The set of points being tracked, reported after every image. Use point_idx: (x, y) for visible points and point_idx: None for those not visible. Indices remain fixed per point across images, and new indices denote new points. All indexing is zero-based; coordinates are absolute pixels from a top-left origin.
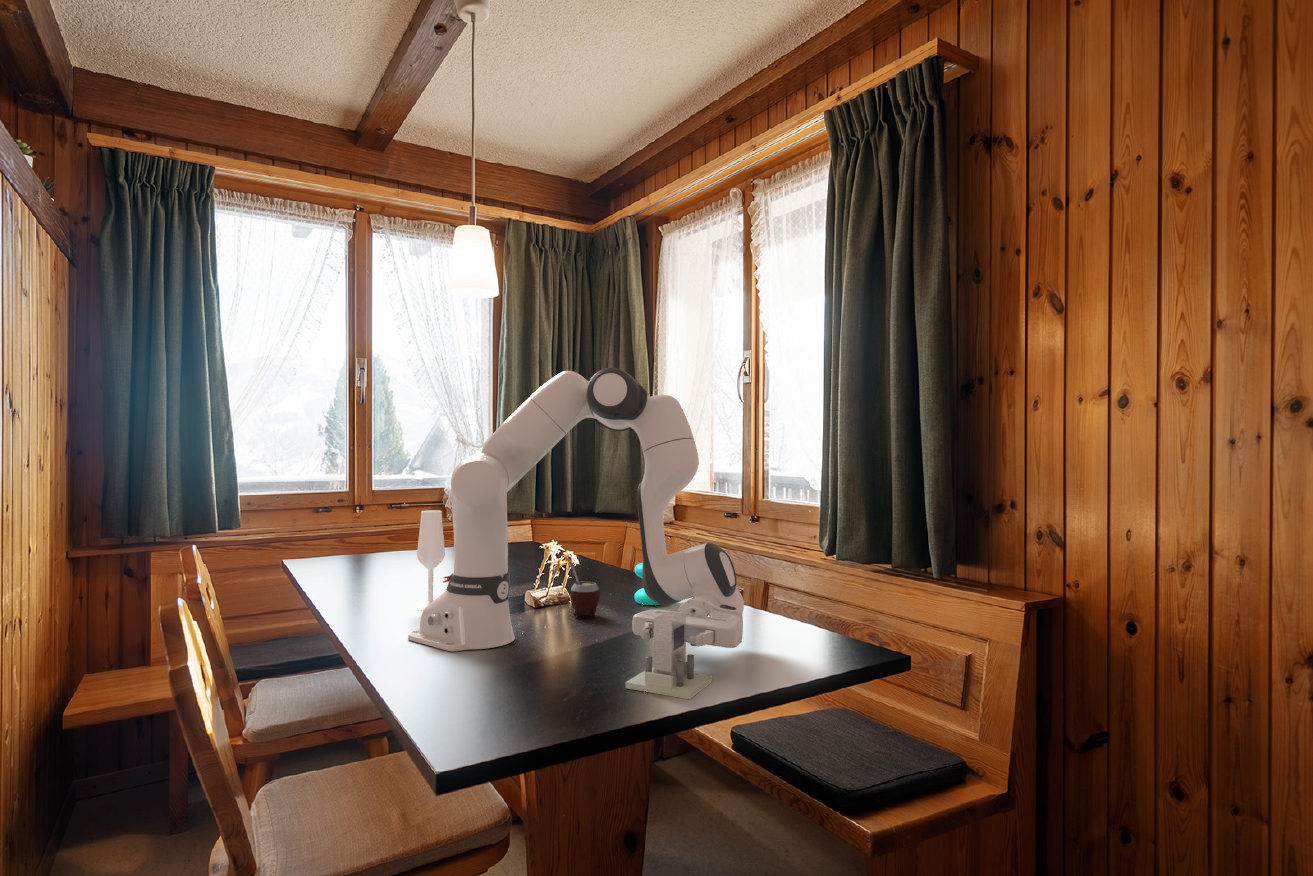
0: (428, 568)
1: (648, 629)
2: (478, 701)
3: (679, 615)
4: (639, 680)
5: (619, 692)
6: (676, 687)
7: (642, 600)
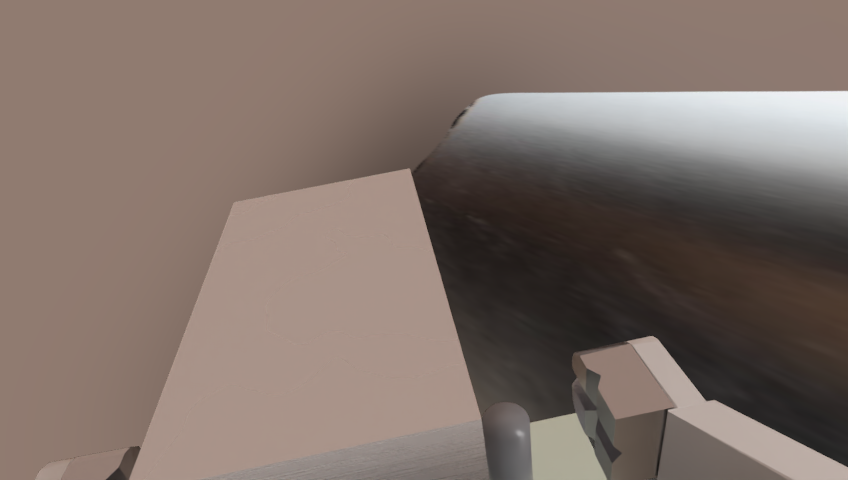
0: None
1: (590, 353)
2: (751, 156)
3: (212, 344)
4: (546, 473)
5: (551, 384)
6: None
7: None
